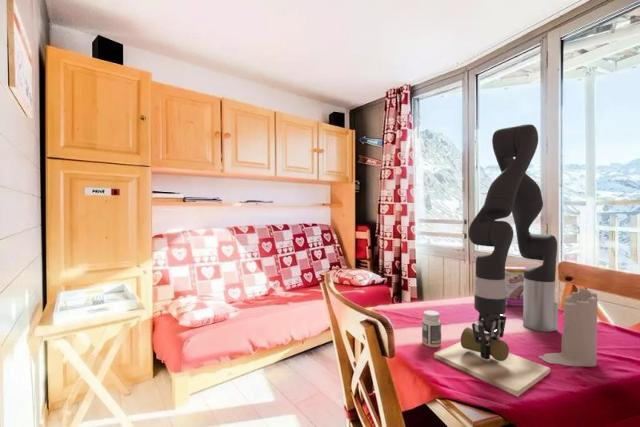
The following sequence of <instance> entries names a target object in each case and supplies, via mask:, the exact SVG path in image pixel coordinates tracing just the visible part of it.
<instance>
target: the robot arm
mask: <svg viewBox="0 0 640 427" xmlns="http://www.w3.org/2000/svg"><path fill="white" fill-rule="evenodd" d="M491 138H492V139H491V140H492V141H491V142H492V144H491V146H492V149H493V152H494V156H495V159H496V161H497V165H498V167H499V170H500V172H501V173H500V174H498V175H497V177H496V178H495V179H494V180H493V181H492V182H491V184H490V186H489V188H488V190H487V193H486V197H485V199H484V203H483V205H482V207H481V208H480V210H479V211H478V212H477V214H476V216H475V217H474V218H473V220H472V221H471V223H470V224H469V226H468V227H469V228H468V238H469V241H470V242H471V243H472V244H474V245H476V246H481V247H482V246H483V247H494V248H493V251H492V252H491V253H487V254H486V253H485V254H479V255H477V256H476V258H475V279H474V288H473V289H474V294H473V295H474V301H473V302H474V304H473V305H474V306H473V307H474V309H475V311H477V312H478V313H479V315H478V318H477V323H475V322H472V324H471V329H473V333H474V338H475V342H476V343H479V344H480V345H481V347H480V356H481V357H482V358H484V359H487V360H488V359H490V341H491V339H493V340H501V339H502V338H503V337H504V333H505V328H506V323H507V322H506V321H507V316H506V315H504V314H506V310H507V306H506V284H505V267H506V262H507V257H508V254H509V251H510V248H511V245H512V242H513V240H514V239H513V238H514V229H513V227H512V225H511V224H510V223H509V222H507V221H505V220H501V219H505V218H508V217H509V216H510V215H511V214H512V218H513V222H514V226H515V233H516V239H517V240H516V241H517V245H518V251H519V254H520V255H521V257H522V258H524V259H527V260H534V261H542V264H541V265H539V266H536V267H532V268H528V269H526V270H524V288H523V306H522V308H523V310H522V312H523V313H522V325H523V326H524V327H526V328H528V329H531V330H533V331H538V332H545V333H546V332H547V333H550V332H554V331H558V330H559V329H558V328H559V327H558V326H559V303H558V302H557V301H556V274H557V273H556V270H557V257H558V256H557V255H558V241H557V238H556V237H555V235H553V234H545V233H544V234H543V233H542V234H540V233H531V232H530V228H531V226H532V224H533V223H534V221H535V220H536V219H537V218H538V216H539V215H540V213H541V211H542V209H543V207H544V201H543V196H542V195H543V194H542V192H541V191H542V190H541V187H540V186H539V184H538V183H537V182H536V181H535V180H534V179H533V178H532V177H531V176H529V175H528V174H527V171H528V168H529V166H530V164H531V162H532V160H533V158H534V155H535V154H536V151H537V147H538V145H539V133H538V129H537V128H536V126H535V125H534V124H531V123H530V124H529V123H528V124H527V123H526V124H521V125H513V126H508V127H507V126H506V127H502V128H498V129H497V130H495V131H494V133H493V134H492V137H491ZM485 336H486V337H487V340H486V337H485Z"/></svg>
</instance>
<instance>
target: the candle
mask: <svg viewBox="0 0 640 427" xmlns="http://www.w3.org/2000/svg"><path fill="white" fill-rule="evenodd" d="M563 322H564V323H563V329H562V330H563V331H562V337H561V351H560V352H550V353H549V352H548V353H544V355H539V356H538V358H539V359H541V360H542V361H544V362H545V363H549V364H555V365H556V364H557V365H562V366H565V367H568V366H569V367H589V368H590V367H591V368H592V367H596V366H597V355H598V354H597V351H598V350H597V340H598V336H597V335H598V294H597V293H596V292H594V291H592V290H590V289H588V288H584V287H579V288H578V291H571V293H570V295H567V296H565V297H564V304H563Z"/></svg>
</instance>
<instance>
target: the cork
mask: <svg viewBox="0 0 640 427" xmlns="http://www.w3.org/2000/svg"><path fill="white" fill-rule="evenodd" d="M485 337H486V336H485ZM486 340H487V337H486ZM460 342H461V345H462V347H463V348H465V349H469V350H473V351H476V352H480V347H481V345H480V344H479V343H476V342H475V338H474V333H473V329H472V327H465V328H464V329H463V331H462V332H461V336H460ZM509 353H510V348H509V345H508V343H507V342H505V341H504V340H502V339H500V340H493V339H491V341H490V355H491V356H492V357H493V358H494V359H496V360H498V361H504V360H506V359H507V357H508V354H509Z"/></svg>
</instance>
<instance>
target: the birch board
mask: <svg viewBox="0 0 640 427" xmlns="http://www.w3.org/2000/svg"><path fill="white" fill-rule="evenodd" d="M433 358H434V359H436V360H438V361H441V362H442V363H445V364H447V365H449V366H451V367H453V368H456V369H458V370H460V371H462V372H464V373H466V374H468V375H470V376H473V377H475V378H478V379H479V380H481V381H483V382H485V383H488V384H490V385H491V386H494V387H496V388H499V389H500V390H502V391H505V392H506V393H509V394H511V395H513V396H516V397H517V398H518V397H520V395H522V394H523V393H525V392H526V391H527V390H529V389H530V388H531V387H533V386H534V385H536V384H537V383H538V382H539V381H541V380H542V379H544V377H546V376H548V375H549V374H550V373H551V367H548V366H547V365H546V366H545V365H543V364H540V363H537V362H534V361H532V360H530V359H527V358H524V357H521V356H519V355H516V354H513V353H511V352H509V354H508V357H507V359H506V360H504V361H498V360H496V359H494V358H493V357H492V356H491V355H490V359H488V360H487V359H484V358H482V357H481V356H480V352H476V351H473V350H469V349H465V348H463V347H462V345H461V341H459V342H457V343H455V344H451V345H449V346H446V347H445V348H443V349H440V350H438V351H435V352H433Z"/></svg>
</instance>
